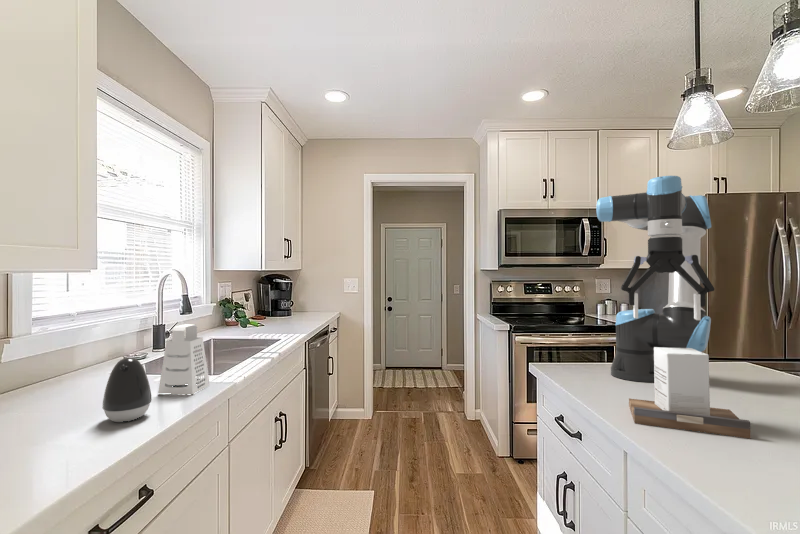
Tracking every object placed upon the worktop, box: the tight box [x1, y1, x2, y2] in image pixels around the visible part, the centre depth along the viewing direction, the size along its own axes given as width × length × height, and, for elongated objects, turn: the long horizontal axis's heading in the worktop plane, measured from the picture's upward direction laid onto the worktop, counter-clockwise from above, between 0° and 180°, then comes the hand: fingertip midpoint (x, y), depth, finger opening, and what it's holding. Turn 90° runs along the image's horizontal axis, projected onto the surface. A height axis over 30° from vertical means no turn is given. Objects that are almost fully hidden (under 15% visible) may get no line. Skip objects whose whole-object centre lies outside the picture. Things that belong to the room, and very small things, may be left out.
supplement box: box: [653, 347, 711, 416], centre depth 101 cm, size 9×9×15 cm
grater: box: [157, 323, 211, 395], centre depth 127 cm, size 10×10×20 cm
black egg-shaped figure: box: [101, 357, 152, 423], centre depth 102 cm, size 10×10×15 cm
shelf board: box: [628, 397, 751, 439], centre depth 100 cm, size 14×22×4 cm, turn 66°
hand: (665, 318), depth 106 cm, fingers open, 13 cm apart
